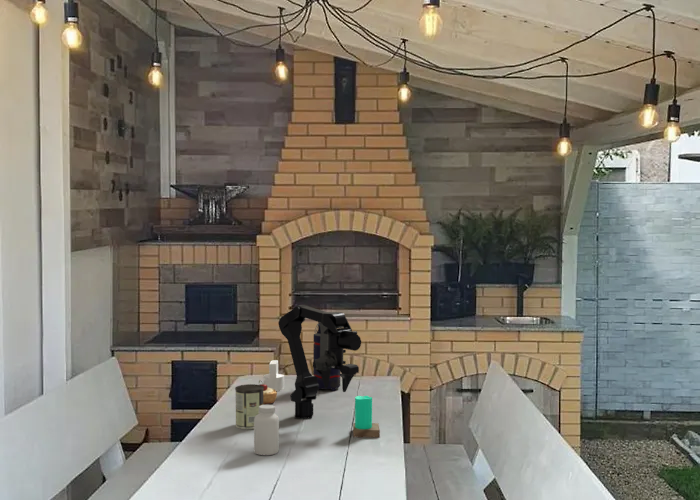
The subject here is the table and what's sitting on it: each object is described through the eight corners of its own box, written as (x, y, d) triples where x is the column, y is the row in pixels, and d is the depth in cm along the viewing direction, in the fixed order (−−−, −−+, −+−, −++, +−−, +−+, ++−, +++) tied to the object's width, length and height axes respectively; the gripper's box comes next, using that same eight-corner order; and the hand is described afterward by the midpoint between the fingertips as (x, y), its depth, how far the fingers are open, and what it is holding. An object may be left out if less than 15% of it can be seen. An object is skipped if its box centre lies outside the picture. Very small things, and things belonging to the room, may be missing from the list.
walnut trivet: (353, 437, 277) (353, 430, 277) (353, 430, 286) (353, 423, 286) (379, 437, 277) (379, 430, 277) (378, 430, 286) (378, 423, 286)
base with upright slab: (283, 391, 345) (283, 364, 344) (262, 391, 345) (262, 364, 345) (284, 387, 354) (285, 360, 353) (264, 387, 354) (264, 360, 354)
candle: (373, 429, 278) (373, 394, 277) (355, 429, 277) (356, 395, 277) (370, 424, 284) (371, 390, 283) (354, 424, 283) (354, 391, 283)
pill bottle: (282, 450, 261) (282, 404, 261) (272, 457, 254) (272, 410, 253) (260, 447, 264) (260, 402, 263) (249, 454, 256) (249, 408, 256)
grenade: (315, 385, 359) (316, 318, 357) (342, 386, 357) (342, 319, 355) (310, 392, 345) (310, 322, 343) (337, 393, 343) (337, 323, 342)
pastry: (258, 407, 317) (258, 385, 317) (241, 402, 326) (241, 380, 326) (282, 403, 325) (282, 381, 325) (265, 397, 334) (265, 376, 333)
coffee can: (251, 420, 298) (251, 382, 297) (269, 425, 291) (269, 387, 290) (229, 425, 290) (229, 387, 290) (247, 431, 283) (247, 391, 283)
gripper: (301, 346, 291) (301, 389, 292) (338, 353, 278) (337, 397, 279) (323, 343, 299) (323, 384, 300) (360, 349, 286) (359, 392, 287)
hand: (335, 389), depth 291 cm, fingers open, 9 cm apart
